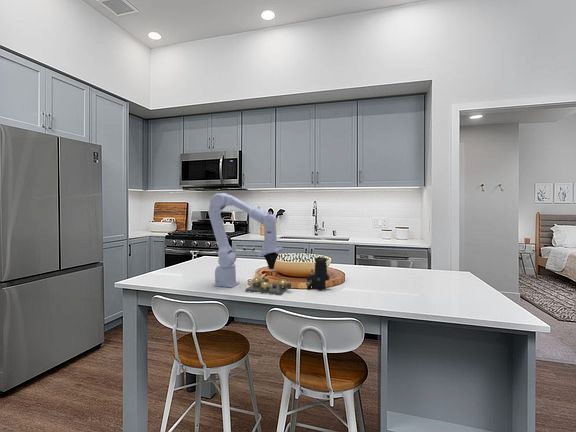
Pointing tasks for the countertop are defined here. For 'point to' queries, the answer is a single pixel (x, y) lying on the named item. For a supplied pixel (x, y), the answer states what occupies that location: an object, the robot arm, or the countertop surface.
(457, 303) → the countertop surface
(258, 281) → the foot screw
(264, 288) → the footscrew right
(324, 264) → the scope
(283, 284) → the foot screw
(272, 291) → the leveling base
